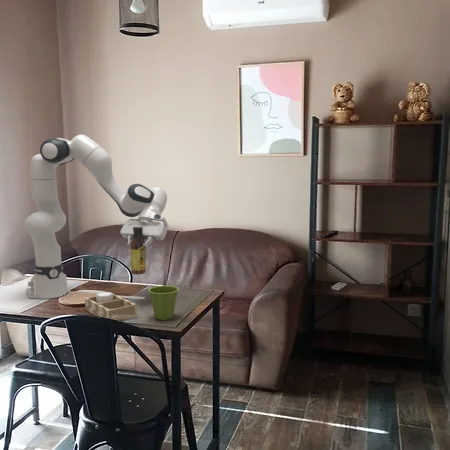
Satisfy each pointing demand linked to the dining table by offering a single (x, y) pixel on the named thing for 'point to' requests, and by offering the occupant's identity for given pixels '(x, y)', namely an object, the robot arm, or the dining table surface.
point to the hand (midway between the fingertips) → (137, 246)
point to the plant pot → (163, 301)
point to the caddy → (112, 308)
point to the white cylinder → (104, 297)
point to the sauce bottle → (138, 252)
